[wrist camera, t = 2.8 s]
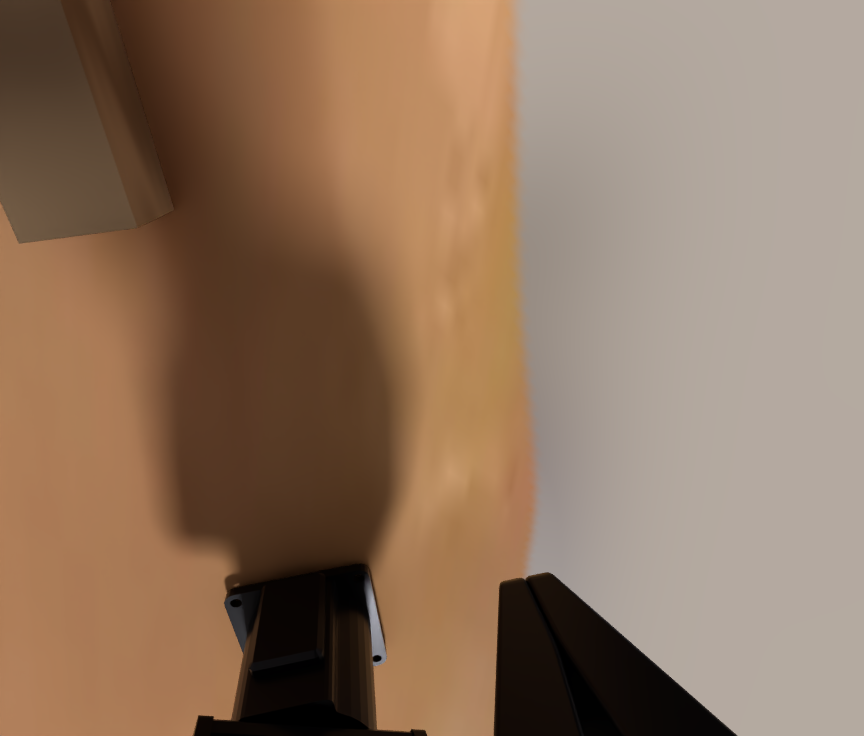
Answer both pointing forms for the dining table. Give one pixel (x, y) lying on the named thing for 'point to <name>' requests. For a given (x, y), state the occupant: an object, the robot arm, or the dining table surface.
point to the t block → (72, 124)
